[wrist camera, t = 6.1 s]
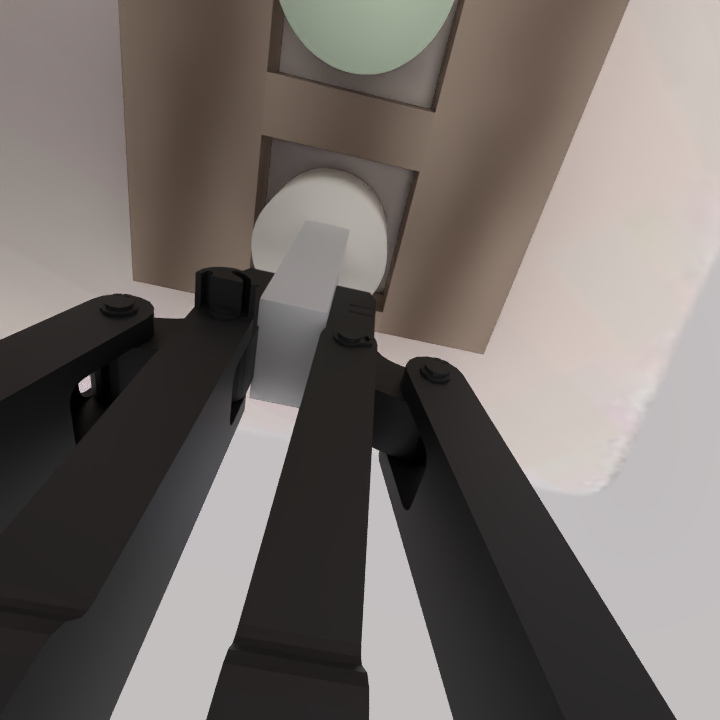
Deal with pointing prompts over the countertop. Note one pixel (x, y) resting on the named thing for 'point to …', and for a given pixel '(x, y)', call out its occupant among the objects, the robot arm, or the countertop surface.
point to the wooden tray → (358, 145)
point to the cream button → (330, 207)
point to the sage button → (366, 30)
